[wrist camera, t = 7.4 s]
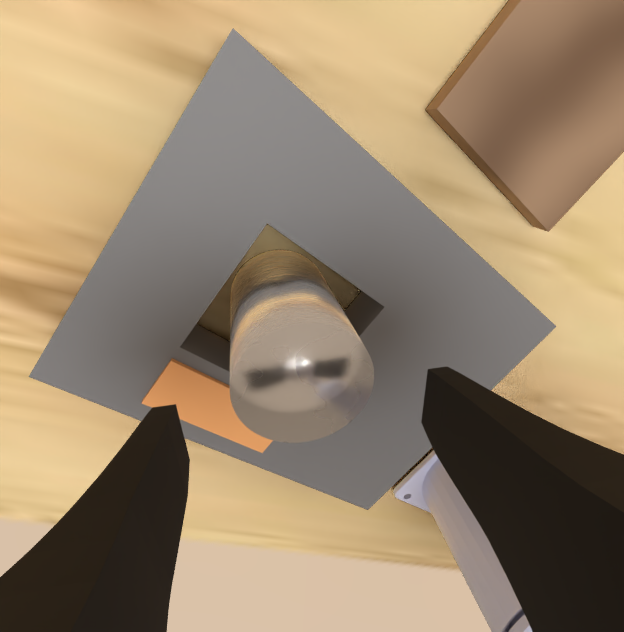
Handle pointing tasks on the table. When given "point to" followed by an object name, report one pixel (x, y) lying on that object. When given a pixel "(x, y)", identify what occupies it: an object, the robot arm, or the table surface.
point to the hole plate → (314, 237)
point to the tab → (541, 102)
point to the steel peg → (293, 351)
